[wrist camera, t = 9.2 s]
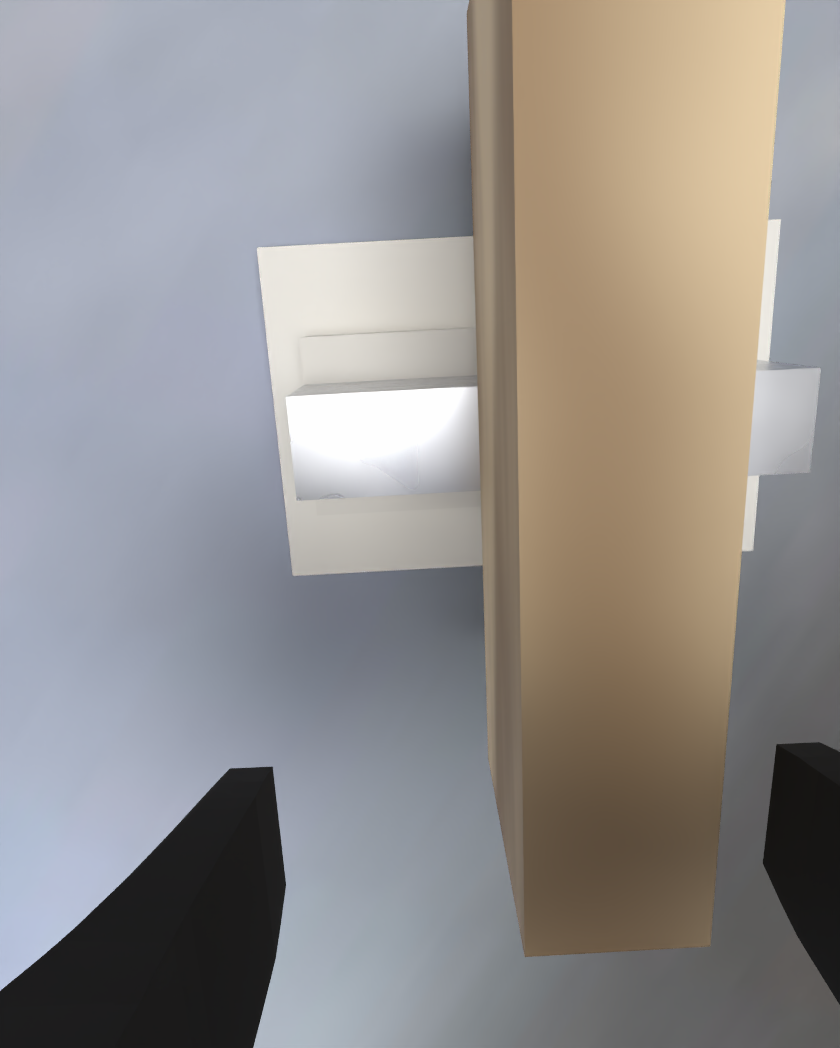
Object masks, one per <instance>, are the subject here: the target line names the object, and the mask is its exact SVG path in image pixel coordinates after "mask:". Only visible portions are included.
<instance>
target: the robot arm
mask: <svg viewBox="0 0 840 1048" xmlns="http://www.w3.org/2000/svg"><path fill="white" fill-rule="evenodd" d="M763 864H764V867H765V869H766V871H767V873H768V875H769V878H770V880H771V882H772V884H773V886H774V889H775V891H776V893H777V895H778V897H779V900H780V902H781V904H782V906H783V908H784V910H785V912H786V914H787V916H788V918H789V920H790V922H791V924H792V926H793V928H794V930H795V932H796V934H797V936H798V938H799V939H800V941H801V943H802V944H803V946H804V948H805V949H806V951H807V953H808V954H809V956H810V958H811V959H812V961H813V962H814V964H815V966H816V967H817V969H818V970H819V972H820V974H821V975H822V977H823V979H824V980H825V982H826V983H827V985H828V987H829V988H830V990H831V991H832V993H833V995H834V996H835V998H836V999H837V1001H838V1003H839V1004H840V752H839V751H837V750H835V749H833V748H830V747H828V746H826V745H824V744H822V743H819V742H818V743H795V744H777V746H776V754H775V763H774V772H773V780H772V789H771V797H770V806H769V815H768V823H767V832H766V841H765V849H764V858H763ZM285 888H286V881H285V872H284V863H283V855H282V846H281V837H280V828H279V820H278V811H277V802H276V793H275V784H274V776H273V767H256V768H234V769H229V770H228V771H227V772H226V773H225V774H224V775H223V776H222V777H221V778H220V780H219V781H218V782H217V783H216V784H215V785H214V786H213V787H212V788H211V789H210V790H209V791H208V792H207V793H206V795H205V796H204V797H203V798H202V799H201V800H200V801H199V802H198V803H197V804H196V806H195V807H194V808H193V809H192V810H191V811H190V812H189V813H188V814H187V815H186V816H185V818H184V819H183V820H182V821H181V822H180V823H179V824H178V825H177V826H176V827H175V828H174V829H173V831H172V832H171V833H170V834H169V835H168V836H167V837H166V838H165V839H164V840H163V841H162V842H161V843H160V844H159V845H158V846H157V847H156V848H155V849H154V851H153V852H152V853H151V854H150V855H149V856H148V857H147V858H146V859H145V860H144V861H143V862H142V863H141V864H140V865H139V866H138V867H137V868H136V869H135V870H134V871H133V872H132V873H131V874H130V875H129V876H128V877H127V878H126V879H125V880H124V881H123V882H122V883H121V884H120V885H119V886H118V887H117V888H116V889H115V890H114V891H113V892H112V893H111V894H110V895H109V896H108V897H107V898H106V899H105V900H104V901H103V902H101V903H100V904H99V905H98V906H97V907H96V908H95V909H94V910H93V911H92V912H91V913H90V914H89V915H88V916H87V917H86V918H85V919H84V920H83V921H82V922H81V923H80V924H78V925H77V926H76V927H75V928H74V929H73V930H72V931H71V932H70V933H69V934H67V935H66V936H65V937H64V938H63V939H62V940H61V941H60V942H58V943H57V944H56V945H55V946H54V947H53V948H51V949H50V950H49V951H48V952H47V953H46V954H44V955H43V956H42V957H41V958H40V959H39V960H37V961H36V962H35V963H34V964H33V965H31V966H30V967H29V968H28V969H26V970H25V971H24V972H23V973H22V974H20V975H19V976H18V977H17V978H15V979H14V980H13V981H12V982H11V983H9V984H8V985H7V986H6V987H4V988H3V989H2V990H1V991H0V1048H253V1046H254V1042H255V1038H256V1034H257V1030H258V1027H259V1023H260V1019H261V1015H262V1011H263V1007H264V1003H265V999H266V995H267V991H268V987H269V983H270V979H271V975H272V971H273V967H274V963H275V959H276V952H277V945H278V939H279V932H280V925H281V918H282V910H283V903H284V895H285Z"/></svg>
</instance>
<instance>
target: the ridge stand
mask: <svg viewBox="0 0 840 1048" xmlns="http://www.w3.org/2000/svg"><path fill="white" fill-rule="evenodd" d="M780 223H781V219H778V220H768V227H767V240H766V252H765V265H764V277H763V290H762V302H761V315H760V328H759V340H758V353H757V365H756V378H755V390H754V403H753V416H752V428H751V441H750V453H749V466H748V478H747V491H746V504H745V516H744V529H743V541H742V551H753V544H754V532H755V520H756V508H757V496H758V484H759V475H775V474H793V473H810V468H811V459H812V449H813V439H814V430H815V420H816V411H817V401H818V392H819V382H820V373H821V368H820V367H812V366H804V365H796V364H787V363H779V362H771V361H769V353H770V342H771V330H772V318H773V306H774V294H775V282H776V270H777V258H778V246H779V235H780ZM257 254H258V264H259V273H260V282H261V291H262V300H263V309H264V318H265V327H266V337H267V346H268V355H269V364H270V373H271V382H272V391H273V401H274V410H275V419H276V428H277V437H278V446H279V455H280V465H281V474H282V483H283V492H284V501H285V510H286V519H287V529H288V538H289V547H290V556H291V565H292V574H293V576H304V575H322V574H340V573H358V572H376V571H395V570H413V569H431V568H449V567H467V566H483V558H482V524H481V489H480V454H479V420H478V385H477V350H476V316H475V281H474V247H473V236H464V237H445V238H427V239H409V240H390V241H372V242H353V243H335V244H316V245H298V246H279V247H261V248H257Z"/></svg>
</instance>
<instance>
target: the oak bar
mask: <svg viewBox="0 0 840 1048" xmlns="http://www.w3.org/2000/svg"><path fill="white" fill-rule="evenodd" d="M785 1H786V0H469V5H468V10H467V39H468V73H469V108H470V143H471V177H472V212H473V247H474V281H475V316H476V350H477V385H478V420H479V454H480V489H481V524H482V558H483V593H484V627H485V662H486V697H487V731H488V760H489V765H490V771H491V776H492V781H493V787H494V792H495V798H496V803H497V809H498V814H499V819H500V825H501V830H502V836H503V841H504V847H505V852H506V857H507V863H508V868H509V874H510V879H511V885H512V890H513V895H514V901H515V906H516V912H517V917H518V923H519V928H520V933H521V939H522V944H523V950H524V955H525V957H532V956H549V955H567V954H585V953H603V952H620V951H638V950H656V949H673V948H691V947H709V946H710V943H711V931H712V918H713V906H714V893H715V880H716V868H717V855H718V843H719V830H720V818H721V805H722V793H723V780H724V767H725V755H726V742H727V730H728V717H729V705H730V692H731V679H732V667H733V654H734V642H735V629H736V617H737V604H738V591H739V579H740V566H741V554H742V541H743V529H744V516H745V504H746V491H747V478H748V466H749V453H750V441H751V428H752V416H753V403H754V390H755V378H756V365H757V353H758V340H759V328H760V315H761V302H762V290H763V277H764V265H765V252H766V240H767V227H768V215H769V202H770V189H771V177H772V164H773V152H774V139H775V127H776V114H777V101H778V89H779V76H780V64H781V51H782V39H783V26H784V14H785Z"/></svg>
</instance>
